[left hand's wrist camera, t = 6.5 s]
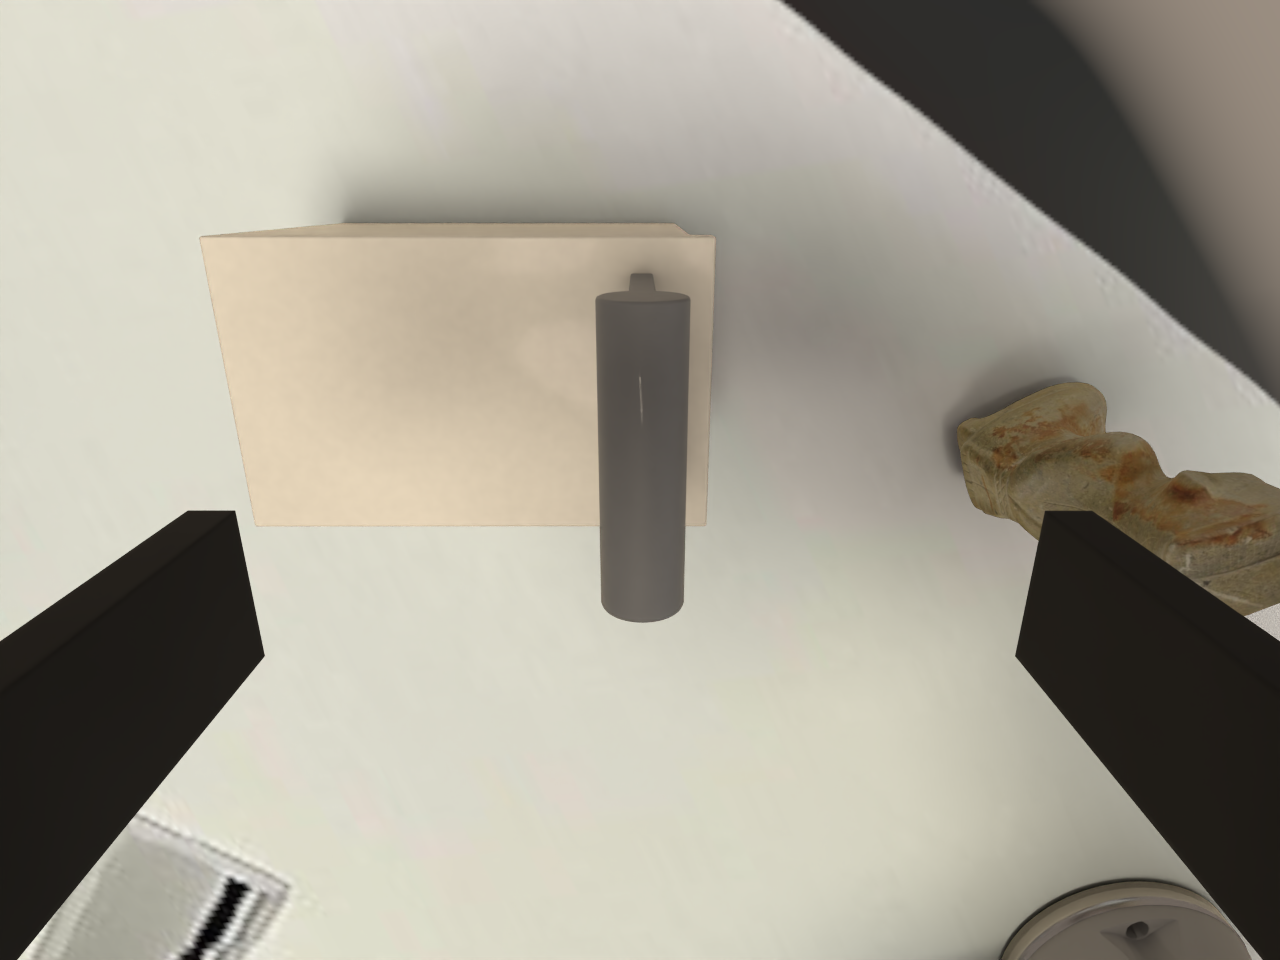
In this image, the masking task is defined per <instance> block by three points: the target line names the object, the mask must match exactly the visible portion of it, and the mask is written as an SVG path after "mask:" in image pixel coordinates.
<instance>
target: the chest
mask: <svg viewBox="0 0 1280 960" xmlns="http://www.w3.org/2000/svg"><path fill="white" fill-rule="evenodd" d="M220 235H689V234H688V233H686V232H685V231H684V230H683V229H681V228H680V227H679V226H677V225H676V224H674V223H339V224H328V225H318V226H307V227H296V228H285V229H274V230H264V231H253V232H242V233H231V234H220Z"/></svg>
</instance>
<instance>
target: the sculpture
mask: <svg viewBox="0 0 1280 960" xmlns="http://www.w3.org/2000/svg"><path fill="white" fill-rule="evenodd" d="M1106 413H1107V406H1106V401H1105V398H1104V396H1103V395H1102V393H1101V392H1100V391H1099V390H1097V389H1096V388H1095V387H1093V386H1092V385H1089V384H1086V383H1079V382H1073V383H1062V384H1057V385H1054V386H1050V387H1047V388H1045V389H1042V390H1040V391H1038V392H1035V393H1033V394H1031V395H1029V396H1027V397H1025V398H1023V399H1021V400H1019V401H1017V402H1015V403H1013V404H1011V405H1009V406H1007V407H1006V408H1004V409H1002V410H1000V411H998V412H996V413H994V414H992V415H989V416H987V417H984V418H980V419H978V418H970V419H968V420H966V421H964V422H962V423H961V424H960V425H959V426H958V428H957V440H958V446H959V450H960V451H961V452H960V453H961V462H962V467H963V473H964V478H965V483H966V487H967V490H968V493H969V496H970V499H971V501H972V503H973V505H974V506H975V507H976V508H978V509H980V510H982V511H983V512H984V513H986V514H989V515H992V516H995V517H999V518H1006V519H1011V520H1013V521H1015V522H1017V523H1019V524H1020V525H1021V526H1022V527H1023V528H1024V529H1025V530H1026V531H1027V532H1028V533H1030V534H1031V535H1032V536H1033V537H1035V538H1036V539H1037V540H1038V541H1039V537H1040V532H1041V527H1042V522H1043V517H1044V512H1045V511H1093V512H1095V513H1096V514H1098V515H1099V516H1100V517H1102V518H1103V519H1105V520H1106V521H1108V522H1109V523H1111V524H1112V525H1113V526H1115V527H1116V528H1118V529H1119V530H1121V531H1122V532H1123V533H1125V534H1126V535H1128V536H1129V537H1131V538H1132V539H1134V540H1135V541H1136V542H1138V543H1139V544H1141V545H1142V546H1144V547H1145V548H1146V549H1148V550H1149V551H1151V552H1152V553H1154V554H1155V555H1156V556H1158V557H1159V558H1161V559H1162V560H1164V561H1165V562H1167V563H1168V564H1169V565H1171V566H1172V567H1174V568H1175V569H1177V570H1178V571H1179V572H1181V573H1182V574H1184V575H1185V576H1187V577H1188V578H1189V579H1191V580H1192V581H1194V582H1195V583H1197V584H1198V585H1200V586H1201V587H1202V588H1204V589H1205V590H1207V591H1208V592H1210V593H1211V594H1212V595H1214V596H1215V597H1217V598H1218V599H1220V600H1221V601H1223V602H1224V603H1225V604H1227V605H1228V606H1230V607H1231V608H1233V609H1234V610H1235V611H1237V612H1238V613H1240V614H1241V615H1243V616H1247V615H1249V614H1252V613H1254V612H1257V611H1260V610H1262V609H1265V608H1267V607H1270V606H1273V605H1275V604H1278V603H1280V489H1279V488H1276V487H1274V486H1271V485H1269V484H1267V483H1265V482H1264V481H1262V480H1261V479H1259V478H1257V477H1256V476H1254V475H1252V474H1246V473H1212V474H1211V473H1205V472H1198V471H1188V470H1186V471H1182V472H1180V473H1179V474H1178V475H1177V476H1176V477H1175V478H1168V477H1166V475H1165V474H1164V473H1163V472H1162V469H1161V467H1160V465H1159V462H1158V460H1157V457H1156V454H1155V452H1154V451H1153V449H1152V448H1151V446H1150V445H1149V444H1148V443H1147V442H1146V441H1145V440H1144V439H1142V438H1141V437H1139V436H1136V435H1134V434H1131V433H1126V432H1109V433H1106V432H1105V422H1106Z"/></svg>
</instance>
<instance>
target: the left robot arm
mask: <svg viewBox="0 0 1280 960" xmlns="http://www.w3.org/2000/svg"><path fill="white" fill-rule="evenodd" d="M264 656H265V655H264V650H263V645H262V640H261V635H260V630H259V625H258V621H257V616H256V611H255V606H254V601H253V596H252V591H251V586H250V581H249V576H248V571H247V567H246V562H245V557H244V552H243V547H242V542H241V537H240V532H239V527H238V522H237V517H236V512H235V511H187V512H185V513H184V514H182V515H181V516H180V517H178V518H177V519H175V520H174V521H172V522H171V523H169V524H168V525H167V526H165V527H164V528H162V529H161V530H159V531H158V532H157V533H155V534H154V535H152V536H151V537H149V538H148V539H146V540H145V541H144V542H142V543H141V544H139V545H138V546H136V547H135V548H134V549H132V550H131V551H129V552H128V553H126V554H125V555H124V556H122V557H121V558H119V559H118V560H116V561H115V562H113V563H112V564H111V565H109V566H108V567H106V568H105V569H103V570H102V571H101V572H99V573H98V574H96V575H95V576H93V577H92V578H91V579H89V580H88V581H86V582H85V583H83V584H82V585H80V586H79V587H78V588H76V589H75V590H73V591H72V592H70V593H69V594H68V595H66V596H65V597H63V598H62V599H60V600H59V601H57V602H56V603H55V604H53V605H52V606H50V607H49V608H47V609H46V610H45V611H43V612H42V613H40V614H39V615H37V616H36V617H35V618H33V619H32V620H30V621H29V622H27V623H26V624H24V625H23V626H22V627H20V628H19V629H17V630H16V631H14V632H13V633H12V634H10V635H9V636H7V637H6V638H4V639H3V640H1V641H0V960H17V959H18V958H19V957H20V956H21V954H22V953H23V952H24V951H25V949H26V948H27V947H28V946H29V945H30V943H31V942H32V941H33V940H34V938H35V937H36V936H37V935H38V934H39V932H40V931H41V930H42V929H43V927H44V926H45V925H46V924H47V922H48V921H49V920H50V919H51V918H52V916H53V915H54V914H55V913H56V911H57V910H58V909H59V908H60V907H61V905H62V904H63V903H64V902H65V900H66V899H67V898H68V897H69V895H70V894H71V893H72V892H73V891H74V889H75V888H76V887H77V886H78V884H79V883H80V882H81V881H82V880H83V878H84V877H85V876H86V875H87V873H88V872H89V871H90V870H91V869H92V867H93V866H94V865H95V864H96V862H97V861H98V860H99V859H100V857H101V856H102V855H103V854H104V853H105V851H106V850H107V849H108V848H109V846H110V845H111V844H112V843H113V842H114V840H115V839H116V838H117V837H118V835H119V834H120V833H121V832H122V830H123V829H124V828H125V827H126V826H127V824H128V823H129V822H130V821H131V819H132V818H133V817H134V816H135V815H136V813H137V812H138V811H139V810H140V808H141V807H142V806H143V805H144V804H145V802H146V801H147V800H148V799H149V797H150V796H151V795H152V794H153V792H154V791H155V790H156V789H157V788H158V786H159V785H160V784H161V783H162V781H163V780H164V779H165V778H166V777H167V775H168V774H169V773H170V772H171V770H172V769H173V768H174V767H175V765H176V764H177V763H178V762H179V761H180V759H181V758H182V757H183V756H184V754H185V753H186V752H187V751H188V750H189V748H190V747H191V746H192V745H193V743H194V742H195V741H196V740H197V739H198V737H199V736H200V735H201V734H202V732H203V731H204V730H205V729H206V727H207V726H208V725H209V724H210V723H211V721H212V720H213V719H214V718H215V716H216V715H217V714H218V713H219V712H220V710H221V709H222V708H223V707H224V705H225V704H226V703H227V702H228V700H229V699H230V698H231V697H232V696H233V694H234V693H235V692H236V691H237V689H238V688H239V687H240V686H241V685H242V683H243V682H244V681H245V680H246V678H247V677H248V676H249V675H250V673H251V672H252V671H253V670H254V669H255V667H256V666H257V665H258V664H259V662H260V661H261V660H262V659H263V658H264ZM1015 656H1016V658H1017V659H1018V660H1019V661H1020V662H1021V664H1022V665H1023V666H1024V667H1025V669H1026V670H1027V671H1028V672H1029V673H1030V675H1031V676H1032V677H1033V678H1034V680H1035V681H1036V682H1037V683H1038V685H1039V686H1040V687H1041V688H1042V689H1043V691H1044V692H1045V693H1046V694H1047V696H1048V697H1049V698H1050V699H1051V700H1052V702H1053V703H1054V704H1055V705H1056V707H1057V708H1058V709H1059V710H1060V712H1061V713H1062V714H1063V715H1064V716H1065V718H1066V719H1067V720H1068V721H1069V723H1070V724H1071V725H1072V726H1073V727H1074V729H1075V730H1076V731H1077V732H1078V734H1079V735H1080V736H1081V737H1082V739H1083V740H1084V741H1085V742H1086V743H1087V745H1088V746H1089V747H1090V748H1091V750H1092V751H1093V752H1094V753H1095V754H1096V756H1097V757H1098V758H1099V759H1100V761H1101V762H1102V763H1103V764H1104V765H1105V767H1106V768H1107V769H1108V770H1109V772H1110V773H1111V774H1112V775H1113V777H1114V778H1115V779H1116V780H1117V781H1118V783H1119V784H1120V785H1121V786H1122V788H1123V789H1124V790H1125V791H1126V792H1127V794H1128V795H1129V796H1130V797H1131V799H1132V800H1133V801H1134V802H1135V804H1136V805H1137V806H1138V807H1139V808H1140V810H1141V811H1142V812H1143V813H1144V815H1145V816H1146V817H1147V818H1148V819H1149V821H1150V822H1151V823H1152V824H1153V826H1154V827H1155V828H1156V829H1157V830H1158V832H1159V833H1160V834H1161V835H1162V837H1163V838H1164V839H1165V840H1166V842H1167V843H1168V844H1169V845H1170V846H1171V848H1172V849H1173V850H1174V851H1175V853H1176V854H1177V855H1178V856H1179V857H1180V859H1181V860H1182V861H1183V862H1184V864H1185V865H1186V866H1187V867H1188V869H1189V870H1190V871H1191V872H1192V873H1193V875H1194V876H1195V877H1196V878H1197V880H1198V881H1199V882H1200V883H1201V884H1202V886H1203V887H1204V888H1205V889H1206V891H1207V892H1208V893H1209V894H1210V895H1211V897H1212V898H1213V899H1214V900H1215V902H1216V903H1217V904H1218V905H1219V907H1220V908H1221V909H1222V910H1223V911H1224V913H1225V914H1226V915H1227V916H1228V918H1229V919H1230V920H1231V921H1232V922H1233V924H1234V925H1235V926H1236V927H1237V929H1238V930H1239V931H1240V932H1241V934H1242V935H1243V936H1244V937H1245V938H1246V940H1247V941H1248V942H1249V943H1250V945H1251V946H1252V947H1253V948H1254V949H1255V951H1256V952H1257V953H1258V954H1259V956H1260V957H1261V958H1262V959H1263V960H1280V641H1279V640H1277V639H1276V638H1274V637H1273V636H1271V635H1270V634H1268V633H1267V632H1266V631H1264V630H1263V629H1261V628H1260V627H1258V626H1257V625H1256V624H1254V623H1253V622H1251V621H1250V620H1248V619H1247V618H1245V617H1244V616H1243V615H1241V614H1240V613H1238V612H1237V611H1235V610H1234V609H1233V608H1231V607H1230V606H1228V605H1227V604H1225V603H1224V602H1223V601H1221V600H1220V599H1218V598H1217V597H1215V596H1214V595H1212V594H1211V593H1210V592H1208V591H1207V590H1205V589H1204V588H1202V587H1201V586H1200V585H1198V584H1197V583H1195V582H1194V581H1192V580H1191V579H1189V578H1188V577H1187V576H1185V575H1184V574H1182V573H1181V572H1179V571H1178V570H1177V569H1175V568H1174V567H1172V566H1171V565H1169V564H1168V563H1167V562H1165V561H1164V560H1162V559H1161V558H1159V557H1158V556H1156V555H1155V554H1154V553H1152V552H1151V551H1149V550H1148V549H1146V548H1145V547H1144V546H1142V545H1141V544H1139V543H1138V542H1136V541H1135V540H1134V539H1132V538H1131V537H1129V536H1128V535H1126V534H1125V533H1123V532H1122V531H1121V530H1119V529H1118V528H1116V527H1115V526H1113V525H1112V524H1111V523H1109V522H1108V521H1106V520H1105V519H1103V518H1102V517H1100V516H1099V515H1098V514H1096V513H1095V512H1093V511H1045V512H1044V517H1043V522H1042V527H1041V532H1040V537H1039V542H1038V547H1037V552H1036V557H1035V562H1034V566H1033V571H1032V576H1031V581H1030V586H1029V591H1028V596H1027V601H1026V606H1025V611H1024V616H1023V621H1022V625H1021V630H1020V635H1019V640H1018V645H1017V650H1016V655H1015ZM1001 960H1252V959H1251V957H1250V955H1249V953H1248V951H1247V949H1246V946H1245V944H1244V942H1243V941H1242V939H1241V938H1240V936H1239V935H1238V934H1237V933H1236V931H1235V930H1234V929H1233V928H1232V926H1231V925H1230V924H1229V923H1228V922H1227V920H1226V919H1225V918H1224V917H1223V915H1222V914H1221V913H1220V912H1219V911H1218V910H1217V908H1216V907H1215V906H1214V905H1212V904H1211V903H1210V902H1209V901H1208V900H1206V899H1204V898H1203V897H1201V896H1200V895H1198V894H1196V893H1194V892H1192V891H1189V890H1187V889H1184V888H1181V887H1178V886H1174V885H1170V884H1164V883H1158V882H1142V881H1136V882H1121V883H1113V884H1108V885H1103V886H1098V887H1095V888H1091V889H1088V890H1084V891H1081V892H1079V893H1076V894H1073V895H1071V896H1069V897H1066V898H1064V899H1062V900H1060V901H1058V902H1056V903H1055V904H1053V905H1051V906H1049V907H1048V908H1046V909H1045V910H1043V911H1042V912H1040V913H1039V914H1037V915H1036V916H1035V917H1034V918H1032V919H1031V920H1030V921H1029V922H1028V923H1026V924H1025V925H1024V926H1023V927H1022V928H1021V929H1020V930H1019V932H1018V933H1017V934H1016V935H1015V936H1014V938H1013V939H1012V940H1011V942H1010V943H1009V945H1008V946H1007V948H1006V950H1005V952H1004V954H1003V956H1002V959H1001Z"/></svg>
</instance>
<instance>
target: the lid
mask: <svg viewBox="0 0 1280 960" xmlns="http://www.w3.org/2000/svg"><path fill="white" fill-rule="evenodd" d="M200 244H201V249H202V254H203V259H204V264H205V270H206V275H207V280H208V285H209V290H210V295H211V300H212V305H213V311H214V316H215V321H216V326H217V331H218V336H219V341H220V347H221V352H222V357H223V362H224V367H225V372H226V377H227V382H228V388H229V393H230V398H231V403H232V408H233V413H234V418H235V424H236V429H237V434H238V439H239V444H240V449H241V454H242V459H243V465H244V470H245V475H246V480H247V485H248V490H249V495H250V501H251V506H252V511H253V516H254V521H255V525H256V526H600V559H601V602H602V605H603V607H604V609H605V610H606V611H607V612H608V613H609V614H611V615H612V616H614V617H616V618H619V619H622V620H625V621H630V622H642V623H643V622H655V621H660V620H664V619H667V618H669V617H671V616H673V615H675V614H676V613H677V612H678V611H679V610H680V609H681V607H682V605H683V602H684V566H685V526H706V520H707V490H708V460H709V431H710V401H711V371H712V342H713V312H714V282H715V253H716V238H715V237H714V236H712V235H209V236H201V237H200Z"/></svg>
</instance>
